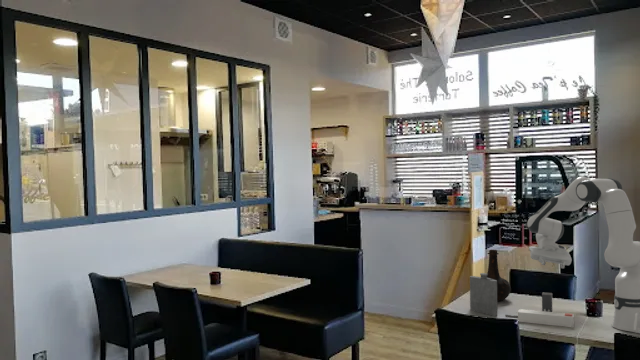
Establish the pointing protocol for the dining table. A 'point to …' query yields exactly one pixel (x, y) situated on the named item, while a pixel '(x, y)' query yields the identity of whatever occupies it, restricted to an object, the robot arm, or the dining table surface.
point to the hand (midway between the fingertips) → (553, 265)
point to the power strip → (544, 317)
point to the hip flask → (483, 294)
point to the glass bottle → (497, 276)
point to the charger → (547, 302)
